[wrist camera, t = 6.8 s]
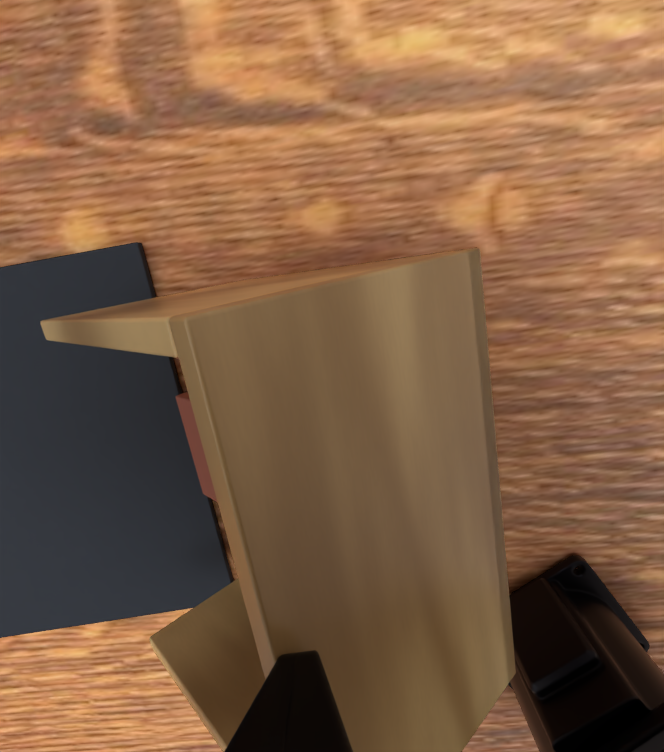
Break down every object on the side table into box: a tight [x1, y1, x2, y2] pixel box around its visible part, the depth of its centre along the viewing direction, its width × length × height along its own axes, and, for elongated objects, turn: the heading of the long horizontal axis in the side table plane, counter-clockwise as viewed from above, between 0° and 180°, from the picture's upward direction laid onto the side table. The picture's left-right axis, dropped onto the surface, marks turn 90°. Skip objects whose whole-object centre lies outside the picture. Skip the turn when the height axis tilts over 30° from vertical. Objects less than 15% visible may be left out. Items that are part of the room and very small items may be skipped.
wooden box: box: [40, 247, 516, 752], centre depth 13 cm, size 10×12×7 cm
